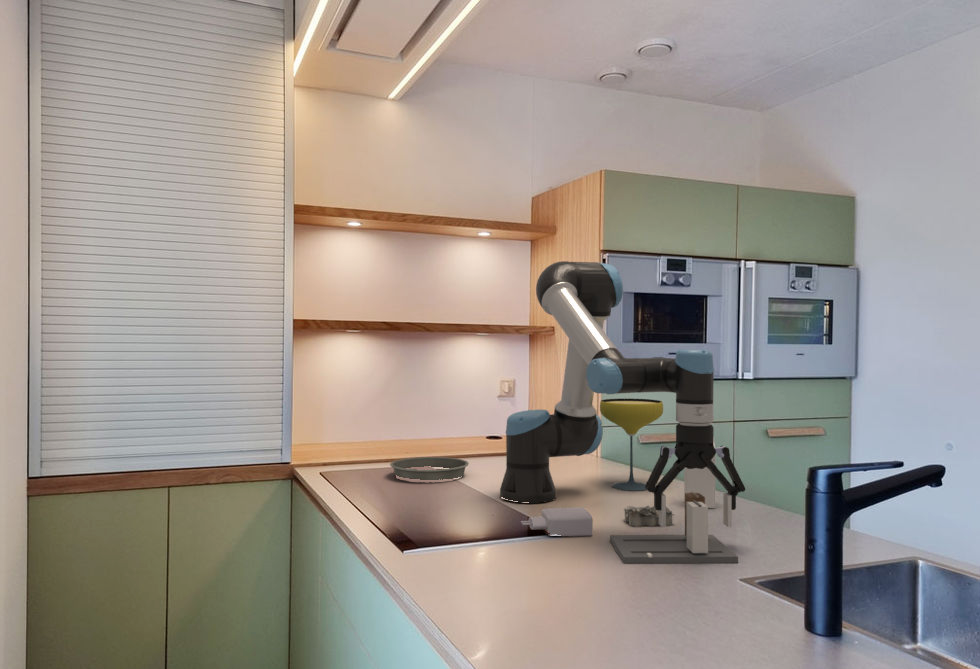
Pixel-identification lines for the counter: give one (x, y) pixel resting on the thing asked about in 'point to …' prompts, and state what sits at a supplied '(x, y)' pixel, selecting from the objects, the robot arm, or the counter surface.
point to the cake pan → (453, 464)
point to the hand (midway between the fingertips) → (694, 525)
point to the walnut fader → (689, 498)
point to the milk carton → (701, 483)
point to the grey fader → (697, 527)
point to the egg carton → (645, 516)
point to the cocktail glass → (631, 425)
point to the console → (668, 549)
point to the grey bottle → (563, 521)
